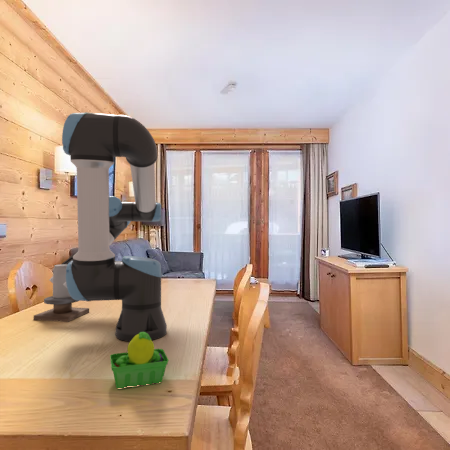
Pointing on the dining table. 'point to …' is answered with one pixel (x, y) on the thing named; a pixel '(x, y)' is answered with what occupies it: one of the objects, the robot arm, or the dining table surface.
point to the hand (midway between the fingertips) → (58, 284)
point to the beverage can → (60, 282)
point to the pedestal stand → (61, 310)
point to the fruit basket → (139, 363)
